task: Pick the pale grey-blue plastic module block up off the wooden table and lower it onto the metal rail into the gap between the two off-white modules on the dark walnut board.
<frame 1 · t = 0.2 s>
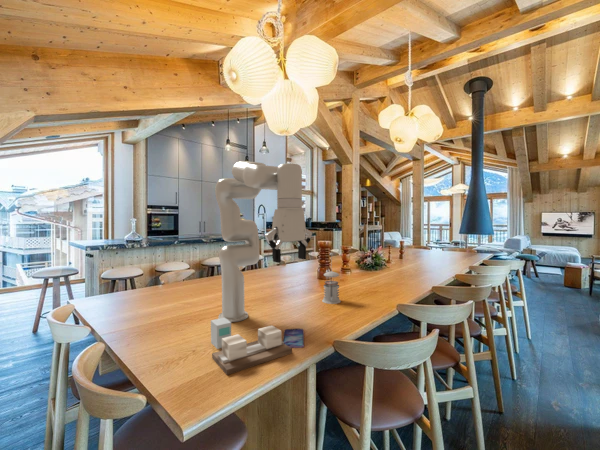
hand: (289, 260, 91), 31 cm above the table, tool pointing down, fingers open, 9 cm apart
module block: (221, 344, 102), on the table
french press: (331, 301, 151), on the table
smartphone: (293, 339, 107), on the table
rail board: (252, 355, 94), on the table
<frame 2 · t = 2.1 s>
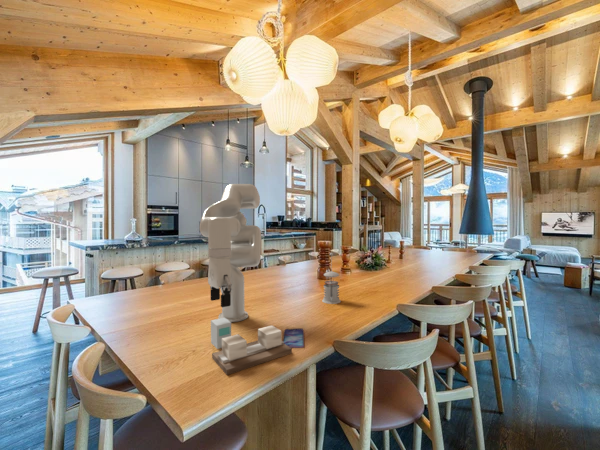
hand: (220, 303, 101), 15 cm above the table, tool pointing down, fingers open, 9 cm apart
nothing on the table moved.
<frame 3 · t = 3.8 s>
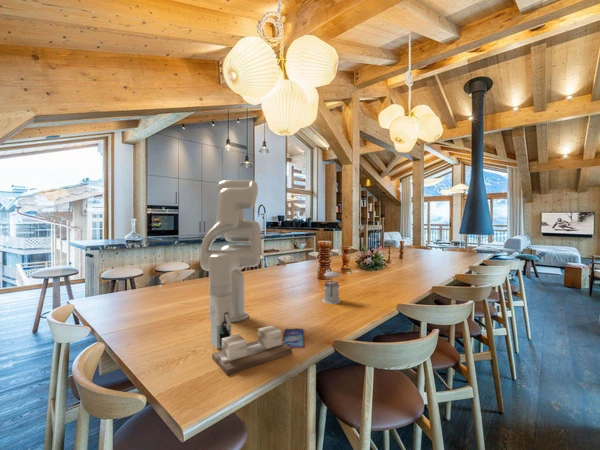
hand: (221, 340, 102), 1 cm above the table, tool pointing down, fingers closed on module block, 6 cm apart
module block: (221, 343, 102), on the table, touching gripper
everything else where it was.
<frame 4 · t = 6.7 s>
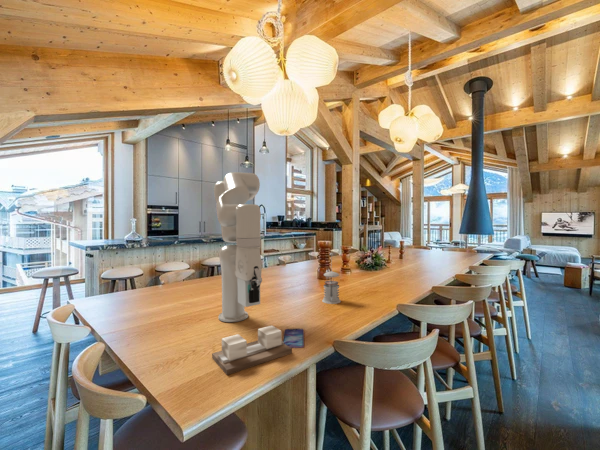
hand: (249, 299, 93), 18 cm above the table, tool pointing down, fingers closed on module block, 6 cm apart
module block: (249, 303, 94), point 17 cm above the table, touching gripper
everything else where it was.
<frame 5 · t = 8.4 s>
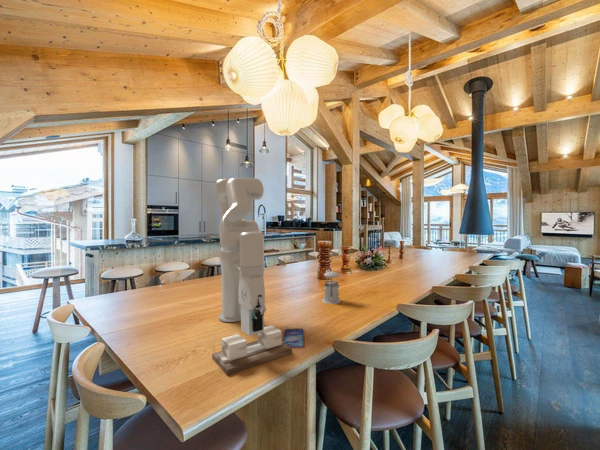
hand: (252, 326, 93), 9 cm above the table, tool pointing down, fingers closed on module block, 6 cm apart
module block: (252, 330, 93), point 8 cm above the table, touching gripper
everything else where it was.
when the fingers open (5 cm above the table, at t = 9.8 s): module block drops 1 cm, resting on rail board.
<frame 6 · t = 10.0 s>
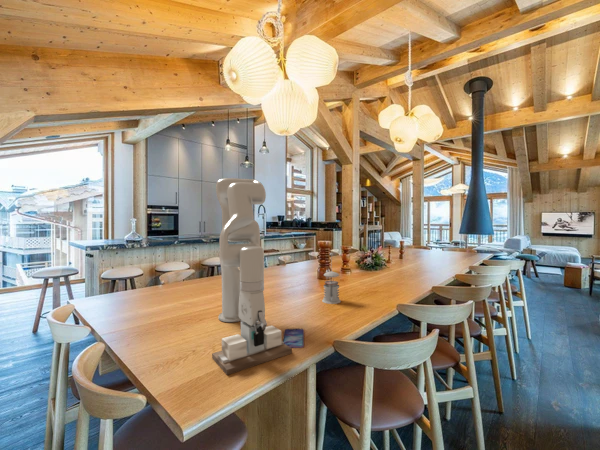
hand: (252, 339, 94), 5 cm above the table, tool pointing down, fingers open, 8 cm apart
module block: (252, 348, 94), point 2 cm above the table, touching rail board
everything else where it was.
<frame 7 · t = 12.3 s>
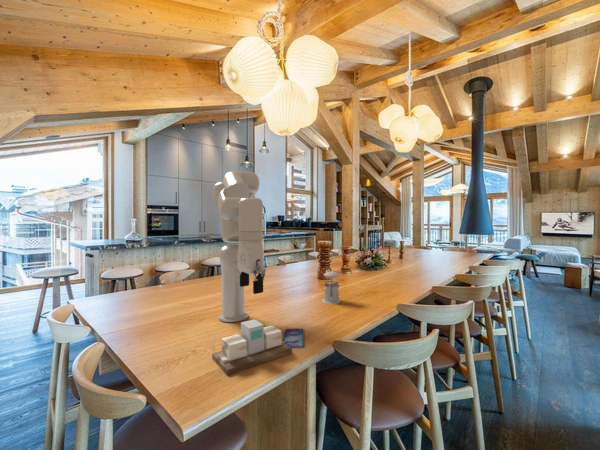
hand: (251, 289, 95), 21 cm above the table, tool pointing down, fingers open, 9 cm apart
nothing on the table moved.
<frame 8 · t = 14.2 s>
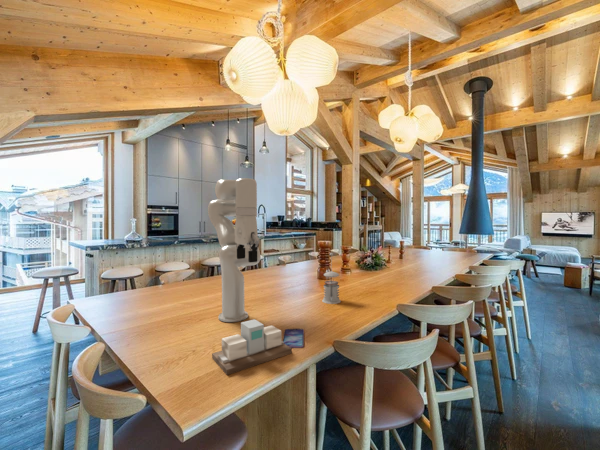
hand: (246, 260, 107), 28 cm above the table, tool pointing down, fingers open, 9 cm apart
nothing on the table moved.
at the end: module block 0.1 cm off-centre on the rail board, point 2.3 cm above the rail board's base; module block tilted 0°; the gripper is holding nothing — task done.
